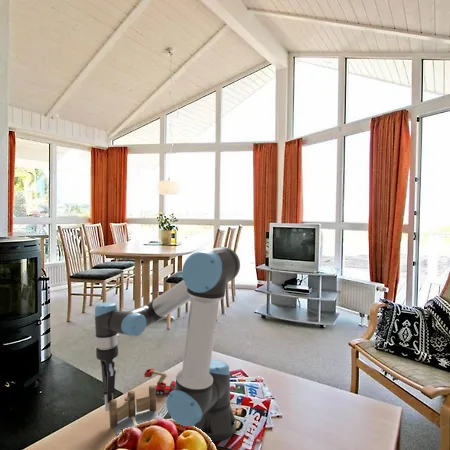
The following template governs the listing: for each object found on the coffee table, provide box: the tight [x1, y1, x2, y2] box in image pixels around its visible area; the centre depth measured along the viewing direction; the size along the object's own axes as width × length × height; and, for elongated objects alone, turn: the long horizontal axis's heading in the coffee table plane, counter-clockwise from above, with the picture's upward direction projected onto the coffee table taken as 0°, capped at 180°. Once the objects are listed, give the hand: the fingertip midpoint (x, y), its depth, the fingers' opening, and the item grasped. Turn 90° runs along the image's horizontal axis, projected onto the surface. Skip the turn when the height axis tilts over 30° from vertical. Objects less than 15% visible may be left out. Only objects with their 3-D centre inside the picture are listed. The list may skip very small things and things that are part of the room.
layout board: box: [113, 406, 158, 436], centre depth 130 cm, size 15×16×1 cm
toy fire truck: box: [144, 368, 176, 395], centre depth 149 cm, size 3×14×10 cm, turn 84°
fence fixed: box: [127, 384, 157, 417], centre depth 133 cm, size 3×11×9 cm, turn 116°
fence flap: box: [108, 390, 136, 428], centre depth 128 cm, size 3×11×9 cm, turn 143°
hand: (109, 409), depth 127 cm, fingers closed
